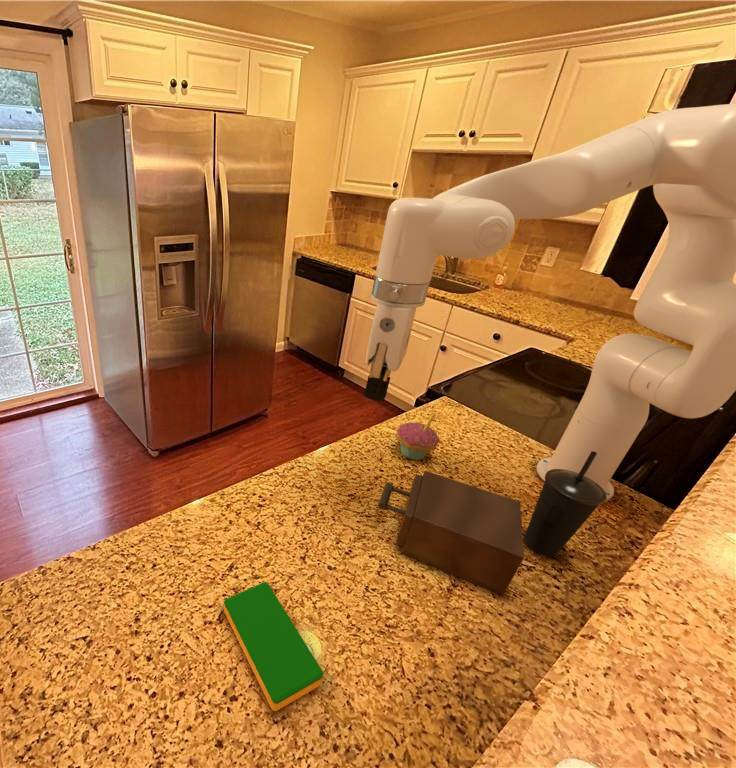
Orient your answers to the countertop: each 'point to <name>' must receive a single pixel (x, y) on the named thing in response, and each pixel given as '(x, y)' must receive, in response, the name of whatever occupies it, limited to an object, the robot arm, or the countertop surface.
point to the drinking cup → (562, 508)
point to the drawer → (409, 507)
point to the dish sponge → (272, 646)
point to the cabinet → (466, 532)
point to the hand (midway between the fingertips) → (374, 397)
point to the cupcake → (417, 439)
